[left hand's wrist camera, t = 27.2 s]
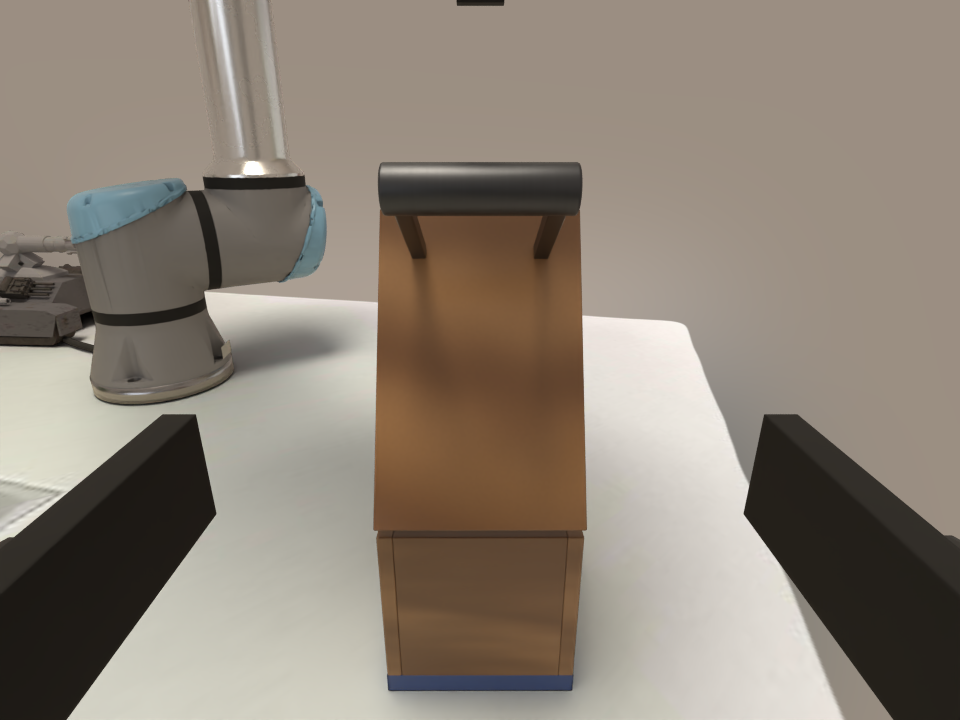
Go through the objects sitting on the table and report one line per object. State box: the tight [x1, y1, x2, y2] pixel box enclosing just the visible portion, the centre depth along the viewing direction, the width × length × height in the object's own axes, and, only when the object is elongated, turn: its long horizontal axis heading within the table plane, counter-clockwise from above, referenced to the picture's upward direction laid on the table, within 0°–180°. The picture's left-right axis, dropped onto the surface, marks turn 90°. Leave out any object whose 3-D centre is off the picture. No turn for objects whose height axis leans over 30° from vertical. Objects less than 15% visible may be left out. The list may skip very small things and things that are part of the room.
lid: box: [373, 162, 587, 531], centre depth 22 cm, size 15×10×9 cm
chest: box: [376, 530, 584, 690], centre depth 34 cm, size 15×10×10 cm, turn 0°
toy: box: [0, 231, 92, 345], centre depth 86 cm, size 25×20×15 cm
